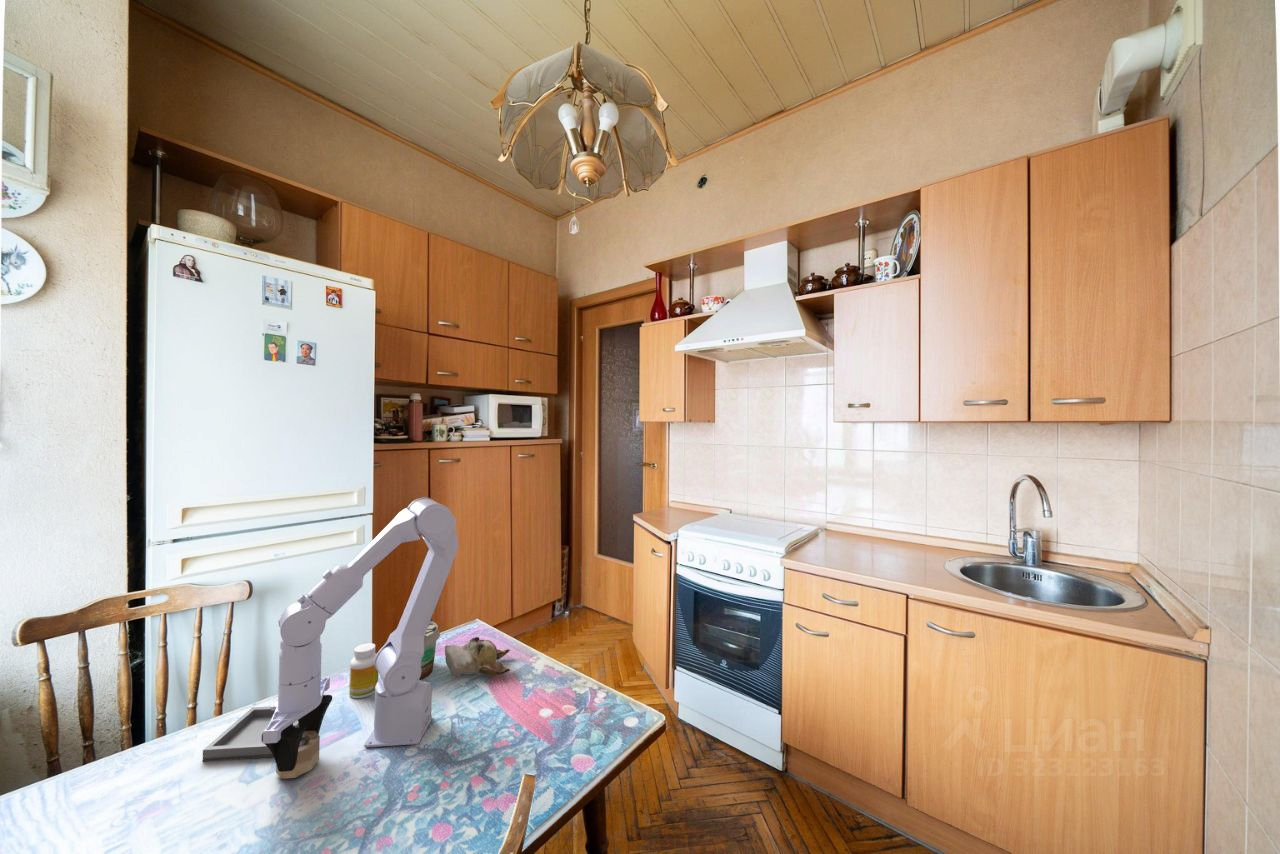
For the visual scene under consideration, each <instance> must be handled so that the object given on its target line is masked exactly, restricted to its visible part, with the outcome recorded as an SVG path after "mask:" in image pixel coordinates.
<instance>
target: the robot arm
mask: <svg viewBox="0 0 1280 854" xmlns="http://www.w3.org/2000/svg"><path fill="white" fill-rule="evenodd" d="M456 524H457V519H456V517H455V516H454V514H453V513H452V512H451V510H450V508H448V507H447V506H446V505H444V504H442V503H439V502H436V501H435V500H433V499H432V498H430V497H420V498H417V499H414V500H413V501H411V503H410V504H409V505H408V506H407V507H406V508H404V509H402V510H401V511H399V512H398V513H397V514H396V516H395V517H394V518H393V519H392V520H391V521H390V522H389V523H388V524H387V525H386V526H385V527H384V528H383V529H382V530H381V531H380V532H379V533H378V534H377V536H375V537H374V539H372V541H370V543H369V544H367V546H366V547H364V548H363V549H362V551H361V552H360V553H358V555H356V557H354V559H353V560H352V561H350V563H347V564H341V565H336V566H335V567H334V568H333V569H332V570H331V569H327V570H326V571H324V572H323V573H322V579H321V580H320V581H319V582H318V583H317V584H316V585H314V587H313V588H311V590H309V591H308V592H307V593H306V594H301V595H300V596H299V597H298V598H297V602H294V603H292V604H289V606H287V607H286V608H285V609H284V611H283V612H282V614H281V615H280V618H279V620H277V621H278V626H279V631H280V638H281V641H280V643H279V646H280V647H279V648H280V652H279V654H278V690H277V691H278V696H277V697H278V698H277V699H278V700H276V701H275V702H273V703H272V704H271V706H270V707H271V710H275V712H274V714H273V717H272V719H271V721H270V723H269V725H268V727H267V728H266V729H265V730H264V731H263V734H262V742H263V744H265V745H266V746H267V747H268V748H269V749H270V751H271V752H272V754H273V757H272V758H274V761H275V766H276V765H277V768H278V771H279V772H285V771H292V770H293V769H294V768H295V765H296V762H297V755H298V748H299V744H300V741H301V738H302V735H303V733H304V731H316V732H317V734H318V735H319V736H320V730H321V727H322V724H323V720H324V717H325V715H326V712H327V711H328V708H329V706H330V704H331V703H332V701H333V695H332V694H325V692H326V691H328V690H329V689H330V684H331V683H330V681H331V678H330V677H322V652H323V651H322V642H321V635H322V634H323V633H324V631H325V628H326V622H327V620H328V619H329V620H330V618H332V617H333V616H334V615H335V614H336V613H337V612H338V611H339V610H340V609H342V607H344V605H345V604H346V603H348V601H350V600H351V598H352V597H353V596H355V595H356V594H357V593H358V592H359V590H361V589H362V588H363V586H364V577H365V576H366V575H367V574H368V573H369V572H370V571H371V570H372V569H374V568H375V566H376V565H378V564H379V563H381V561H382V560H384V559H385V557H387V556H388V555H390V553H392V552H393V550H394V549H396V548H397V547H398V546H399V545H401V544H402V543H409V542H413V541H414V542H415V541H419V540H421V538H422V539H423V540H424V541H423V542H425V545H426V546H427V548H428V551H427V553H426V556H425V558H424V560H423V563H422V565H421V568H420V570H419V573H418V575H417V578H416V581H415V583H414V586H413V588H412V590H411V593H410V595H409V598H408V600H407V603H406V606H405V607H404V610H403V613H402V615H401V617H400V620H399V623H398V624H397V627H396V629H395V630H393V632H391V633H390V634H389V636H388V638H387V640H386V642H385V643H384V645H383V646H382V647H381V648H380V649H379V650H378V652H377V653H376V654H377V655H376V657H375V661H374V664H375V668H376V670H377V671H378V675H379V677H378V682H377V684H376V686H375V693H374V714H373V715H374V716H373V717H374V718H373V720H374V721H373V725H374V726H373V730H372V732H371V734H370V735H369V737H367V739H366V741H365V742H364V744H363V747H364V748H373V747H391V746H392V747H394V746H407V745H408V746H409V745H418V744H419V743H420V742H421V740H422V738H423V736H424V734H425V732H426V730H427V728H428V726H429V724H430V722H431V721H432V719H433V714H432V703H433V702H432V701H433V686H432V683H431V682H426V681H423V680H419V679H420V676H421V660H422V657H423V655H424V636H425V633H426V630H427V628H428V625H429V623H430V621H431V620H432V617H433V614H434V612H435V609H436V607H437V604H438V603H439V599H440V597H441V594H442V592H443V589H444V587H445V584H446V581H447V579H448V576H449V574H450V571H451V569H452V567H453V563H454V560H455V558H456V556H457V553H458V550H459V539H458V533H457V527H456ZM419 534H420V535H421V537H420V536H419ZM297 720H298V723H299V727H298V728H295V725H294V726H293V723H294V722H295V721H297Z"/></svg>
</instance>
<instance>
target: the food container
mask: <svg viewBox="0 0 1280 854" xmlns="http://www.w3.org/2000/svg"><path fill="white" fill-rule="evenodd" d="M439 628H440V627H439V626H438V624H437V623H436V622H434V621H431V620H430V623H429V625H428V628H427V630H426V633H425V636H424V655H423V657H422V660H421V676H420V679H419V680H420V681H423V680H425V679H427V678H428V677H430V676H431V675H432V673H433V672H434V666H435V665H434V664H435V657H436V650H437V649H436V647H437V642H438V640H439V638H440V636H441V633H440V629H439Z"/></svg>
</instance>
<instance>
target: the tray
mask: <svg viewBox="0 0 1280 854" xmlns="http://www.w3.org/2000/svg"><path fill="white" fill-rule="evenodd" d="M274 712H275V710H271V706H255V707H254V706H253V707H251V708H249V710H248V711H247V712H245V713H244V714H243V715H241V717H240V718H238V719H237V720H236V721H235V722H234V723H232V724H231V725H230V726H229V727H228V728H226V730H224V731H223V732H222V733H221V734H220V735H218V736H217V737H216V738H215V739H214V740H213V741H212V742H211V743H208V745H207V746H205V748H203V749H202V762H217V761H234V760H250V759H251V760H253V759H265V758H267V759H268V758H274V757H273V754H272V752H271V751H270V749H269V748H268V747H267V746H266V745H265V744H263V742H262V734H263V731H264V730H265V729H266V728H267V727H268V725H269V723H270V721H271V719H272V717H273V714H274ZM294 725H295V728H298V727H299V723H298V720H297V721H295V722H294V723H293V726H294Z"/></svg>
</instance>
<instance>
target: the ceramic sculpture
mask: <svg viewBox="0 0 1280 854" xmlns="http://www.w3.org/2000/svg"><path fill="white" fill-rule="evenodd" d="M510 651H511V649H504V650H501V649H497V646H496V645H495V643H494V642H492V641H491V640H489V639H480V637H479V636H476V637H472V638H471V639H469V640H468V641H466V643H465V644H464V645H456V644H451V645H448V644H446V645H445V646H444V654H445V655H444V656H445V664H446V666H447V667H448V671H449V674H450V676H451V677H452V679H453V678H454V679H456V678H458V677H459V676H461V675H462V674H463V675H464V674H467V675H468V674H469V675H485V676H487V677H496V676H500V675H503V674H506V673H508V672H510V671H511V669H510V668H507V667H505V665H503V663H500V662H498V660H500V659H501V658H503V657H504V656H506V655H507V654H508V653H510Z"/></svg>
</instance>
